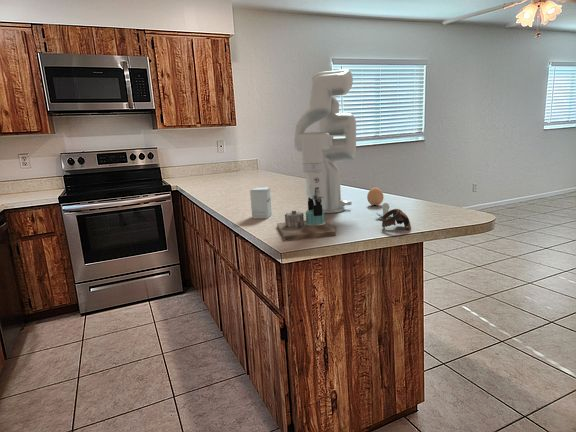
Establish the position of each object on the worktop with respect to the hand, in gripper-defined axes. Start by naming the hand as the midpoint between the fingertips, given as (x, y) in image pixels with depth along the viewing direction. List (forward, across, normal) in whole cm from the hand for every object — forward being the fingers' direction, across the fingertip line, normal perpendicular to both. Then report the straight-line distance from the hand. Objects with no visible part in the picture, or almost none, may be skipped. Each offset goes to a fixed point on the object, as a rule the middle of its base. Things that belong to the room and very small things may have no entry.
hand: (315, 213), depth 149 cm
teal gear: (+4, 0, 0) cm, 4 cm away
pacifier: (+6, +3, -29) cm, 30 cm away
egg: (+6, +29, -35) cm, 46 cm away
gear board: (+5, -4, +5) cm, 9 cm away
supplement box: (+6, +27, +18) cm, 33 cm away
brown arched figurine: (+6, -12, -27) cm, 30 cm away
